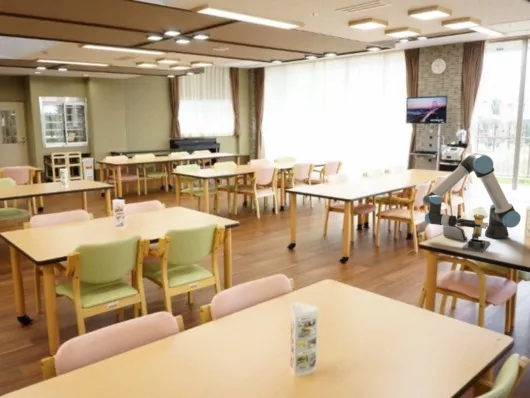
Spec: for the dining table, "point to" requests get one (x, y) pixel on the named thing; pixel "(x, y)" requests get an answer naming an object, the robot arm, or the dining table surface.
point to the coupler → (476, 230)
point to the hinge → (454, 232)
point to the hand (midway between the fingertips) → (487, 225)
